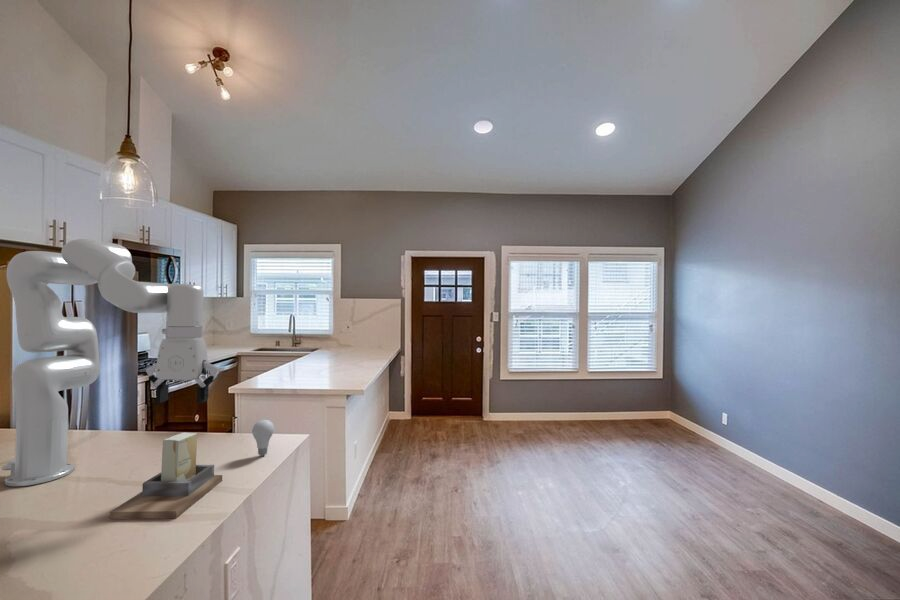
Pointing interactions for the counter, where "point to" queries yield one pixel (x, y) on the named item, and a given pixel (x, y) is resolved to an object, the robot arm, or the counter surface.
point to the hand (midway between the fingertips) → (182, 402)
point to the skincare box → (179, 457)
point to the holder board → (168, 496)
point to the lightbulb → (263, 435)
